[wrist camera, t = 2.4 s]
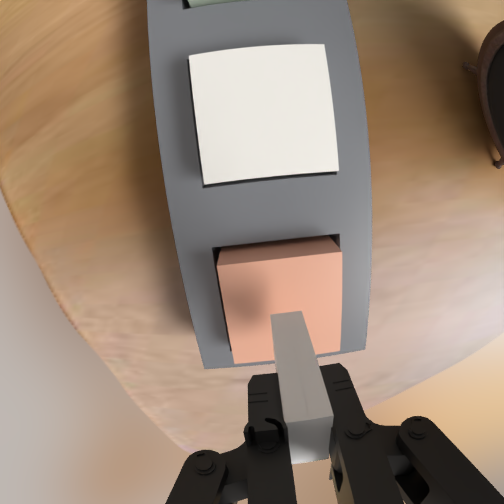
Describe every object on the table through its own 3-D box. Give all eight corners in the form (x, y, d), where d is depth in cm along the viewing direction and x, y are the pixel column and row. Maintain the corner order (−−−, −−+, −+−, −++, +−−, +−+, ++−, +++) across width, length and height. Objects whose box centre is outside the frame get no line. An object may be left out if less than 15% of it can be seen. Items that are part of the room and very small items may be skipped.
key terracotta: (328, 234, 18) (342, 251, 15) (329, 324, 20) (340, 350, 18) (221, 246, 18) (216, 265, 16) (235, 335, 20) (234, 363, 18)
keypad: (309, -61, 13) (319, -88, 9) (349, 319, 24) (365, 349, 20) (161, -47, 13) (147, -73, 10) (210, 336, 24) (204, 369, 20)
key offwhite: (311, 59, 15) (324, 44, 12) (324, 166, 17) (339, 170, 14) (198, 69, 15) (188, 55, 12) (211, 177, 17) (204, 184, 14)
